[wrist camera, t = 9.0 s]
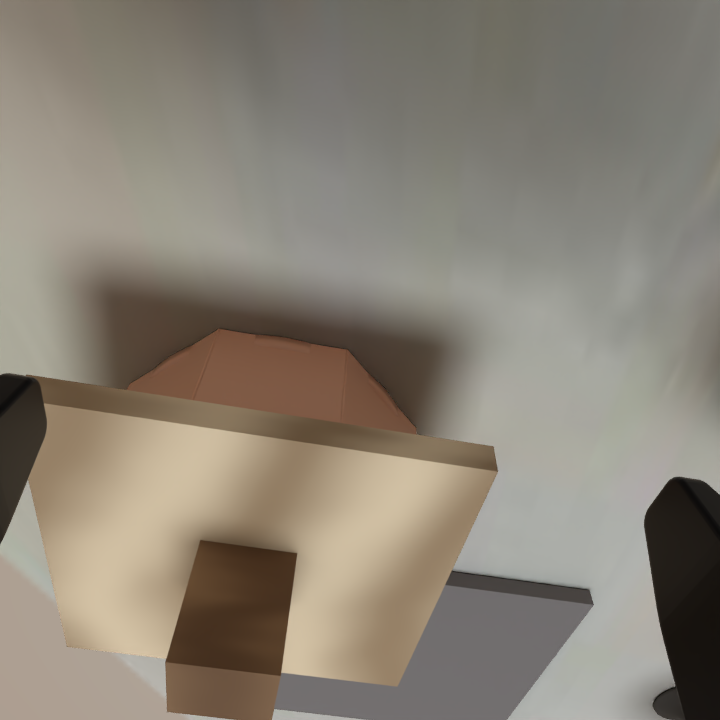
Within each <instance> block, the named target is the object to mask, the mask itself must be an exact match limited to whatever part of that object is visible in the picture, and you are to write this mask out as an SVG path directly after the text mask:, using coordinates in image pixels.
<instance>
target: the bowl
mask: <svg viewBox="0 0 720 720" xmlns="http://www.w3.org/2000/svg"><path fill="white" fill-rule="evenodd" d="M127 390H130V391H136V392H143V393H149V394H156V395H162V396H169V397H175V398H182V399H188V400H195V401H201V402H208V403H214V404H221V405H227V406H234V407H240V408H247V409H253V410H260V411H266V412H273V413H279V414H286V415H292V416H299V417H305V418H312V419H318V420H325V421H331V422H338V423H344V424H351V425H357V426H364V427H370V428H377V429H383V430H390V431H396V432H403V433H409V434H416V427H415V426H414V425H413V424H412V423H411V422H410V421H409V420H408V418H407V417H406V416H405V415H404V414H403V413H402V411H401V410H400V409H399V408H398V407H397V405H396V403H395V402H394V400H393V399H392V398H391V396H390V395H389V394H388V392H387V391H386V390H385V389H384V388H383V387H382V386H381V385H380V384H379V383H378V382H377V381H376V380H375V379H374V378H373V377H372V376H371V375H370V374H368V372H367V371H366V370H365V369H364V368H363V367H362V366H361V364H360V363H359V362H358V361H357V360H356V359H355V358H354V356H353V355H352V354H351V353H350V352H349V350H347V349H340V348H334V347H328V346H322V345H316V344H310V343H307V342H304V341H300V340H295V339H290V338H286V337H278V336H269V335H254V334H248V333H242V332H236V331H230V330H223V329H220V328H219V329H218V330H216V331H215V332H213V333H211V334H210V335H208V336H207V337H205V338H203V339H202V340H200V341H198V342H197V343H195V344H194V345H192V346H189V347H186V348H184V349H183V350H181V351H179V352H177V353H175V354H173V355H171V356H170V357H168V358H167V359H166V360H164V361H163V362H162V363H160V364H159V365H158V366H157V367H156V368H155V369H153V370H152V371H150V372H148V373H147V374H145V375H144V376H142V377H140V378H139V379H137V380H136V381H134V382H132V383H130V384H129V386H128V388H127Z"/></svg>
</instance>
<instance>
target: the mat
mask: <svg viewBox="0 0 720 720" xmlns="http://www.w3.org/2000/svg"><path fill="white" fill-rule="evenodd" d="M593 605H594V604H593V601H592V597H591V594H590V590H582V589H575V588H568V587H560V586H553V585H545V584H538V583H531V582H523V581H516V580H509V579H501V578H494V577H487V576H479V575H472V574H465V573H457V572H451V573H450V575H449V578H448V580H447V582H446V584H445V586H444V588H443V590H442V593H441V595H440V597H439V599H438V601H437V603H436V605H435V608H434V610H433V612H432V614H431V616H430V618H429V620H428V623H427V625H426V627H425V629H424V631H423V633H422V635H421V638H420V640H419V642H418V644H417V646H416V648H415V650H414V653H413V655H412V657H411V659H410V661H409V663H408V665H407V667H406V670H405V672H404V674H403V676H402V678H401V680H400V682H399V685H398V687H396V686H388V685H380V684H371V683H363V682H355V681H347V680H338V679H330V678H322V677H313V676H305V675H297V674H288V673H281V678H280V682H279V687H278V692H277V697H276V701H275V706H274V709H279V710H288V711H297V712H305V713H314V714H323V715H331V716H340V717H349V718H357V719H366V720H507V719H508V717H509V716H510V715H511V713H512V712H513V711H514V709H515V708H516V707H517V706H518V704H519V703H520V702H521V700H522V699H523V698H524V696H525V695H526V694H527V692H528V691H529V690H530V688H531V687H532V686H533V684H534V683H535V682H536V680H537V679H538V678H539V677H540V675H541V674H542V673H543V671H544V670H545V669H546V667H547V666H548V665H549V663H550V662H551V661H552V659H553V658H554V657H555V655H556V654H557V653H558V651H559V650H560V649H561V647H562V646H563V645H564V644H565V642H566V641H567V640H568V638H569V637H570V636H571V634H572V633H573V632H574V630H575V629H576V628H577V626H578V625H579V624H580V622H581V621H582V620H583V618H584V617H585V616H586V614H587V613H588V612H589V611H590V609H591V608H592V607H593Z"/></svg>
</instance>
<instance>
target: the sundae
mask: <svg viewBox="0 0 720 720" xmlns="http://www.w3.org/2000/svg"><path fill="white" fill-rule="evenodd" d="M653 707H654V710H655V711H656V713H657V714H658V715H660V716H662V717H664V718H666V719H671V720H685V719H684V715H683V712H682V708H681V704H680V700H679V697H678V693H677V689H676V688H673V689H670V690H668V691H666V692H664V693H663V694H661V695H660V696H659V697H657V699H656V700H655V702H654V705H653Z"/></svg>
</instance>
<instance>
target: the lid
mask: <svg viewBox="0 0 720 720" xmlns="http://www.w3.org/2000/svg"><path fill="white" fill-rule="evenodd" d="M26 376H30V377H34V378H36V379H37V380H38V381H39V383H40V386H41V391H42V396H43V401H44V407H45V412H46V417H47V431H46V435H45V438H44V441H43V443H42V446H41V448H40V451H39V453H38V456H37V458H36V461H35V463H34V466H33V468H32V470H31V473H30V475H29V478H28V480H29V484H30V489H31V493H32V497H33V502H34V506H35V510H36V515H37V519H38V523H39V528H40V532H41V536H42V541H43V545H44V549H45V554H46V558H47V562H48V567H49V571H50V575H51V579H52V584H53V588H54V592H55V597H56V601H57V605H58V610H59V614H60V618H61V622H62V627H63V631H64V636H65V640H66V644H67V647H74V648H82V649H89V650H99V651H106V652H114V653H123V654H131V655H139V656H147V657H156V658H164V659H166V662H165V665H166V693H167V712H173V713H182V714H190V715H199V716H208V717H217V718H225V719H234V720H272V716H273V711H274V706H275V701H276V697H277V692H278V687H279V682H280V678H281V673H288V674H297V675H305V676H313V677H322V678H330V679H338V680H347V681H355V682H363V683H371V684H380V685H388V686H396V687H398V685H399V682H400V680H401V678H402V676H403V674H404V672H405V670H406V667H407V665H408V663H409V661H410V659H411V657H412V655H413V653H414V650H415V648H416V646H417V644H418V642H419V640H420V638H421V635H422V633H423V631H424V629H425V627H426V625H427V623H428V620H429V618H430V616H431V614H432V612H433V610H434V608H435V605H436V603H437V601H438V599H439V597H440V595H441V593H442V590H443V588H444V586H445V584H446V582H447V580H448V578H449V575H450V573H451V571H452V569H453V567H454V565H455V563H456V560H457V558H458V556H459V554H460V552H461V550H462V548H463V546H464V543H465V541H466V539H467V537H468V535H469V533H470V531H471V528H472V526H473V524H474V522H475V520H476V518H477V516H478V513H479V511H480V509H481V507H482V505H483V503H484V501H485V498H486V496H487V494H488V492H489V490H490V488H491V486H492V483H493V481H494V479H495V477H496V475H497V473H498V469H497V464H496V458H495V453H494V447H493V446H487V445H481V444H474V443H468V442H461V441H455V440H448V439H442V438H435V437H429V436H422V435H416V434H409V433H403V432H396V431H390V430H383V429H377V428H370V427H364V426H357V425H351V424H344V423H338V422H331V421H325V420H318V419H312V418H305V417H299V416H292V415H286V414H279V413H273V412H266V411H260V410H253V409H247V408H240V407H234V406H227V405H221V404H214V403H208V402H201V401H195V400H188V399H182V398H175V397H169V396H162V395H156V394H149V393H143V392H136V391H130V390H123V389H117V388H110V387H104V386H97V385H91V384H84V383H78V382H71V381H65V380H58V379H52V378H45V377H39V376H32V375H26Z"/></svg>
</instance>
